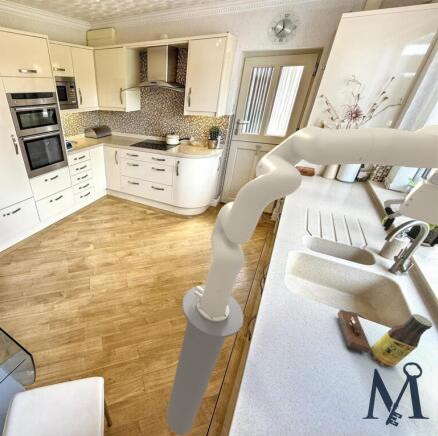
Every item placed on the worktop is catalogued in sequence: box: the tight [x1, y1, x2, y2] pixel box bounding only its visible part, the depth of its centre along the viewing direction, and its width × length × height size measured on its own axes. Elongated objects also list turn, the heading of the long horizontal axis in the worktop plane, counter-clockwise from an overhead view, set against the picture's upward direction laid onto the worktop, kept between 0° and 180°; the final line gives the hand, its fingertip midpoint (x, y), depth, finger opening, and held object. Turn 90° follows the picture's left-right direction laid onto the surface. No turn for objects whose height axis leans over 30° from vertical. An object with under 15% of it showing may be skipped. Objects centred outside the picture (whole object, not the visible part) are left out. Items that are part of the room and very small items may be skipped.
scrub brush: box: [336, 309, 372, 354], centre depth 80 cm, size 14×5×6 cm, turn 157°
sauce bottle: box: [368, 313, 433, 368], centre depth 70 cm, size 7×6×20 cm
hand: (407, 236), depth 68 cm, fingers open, 9 cm apart
